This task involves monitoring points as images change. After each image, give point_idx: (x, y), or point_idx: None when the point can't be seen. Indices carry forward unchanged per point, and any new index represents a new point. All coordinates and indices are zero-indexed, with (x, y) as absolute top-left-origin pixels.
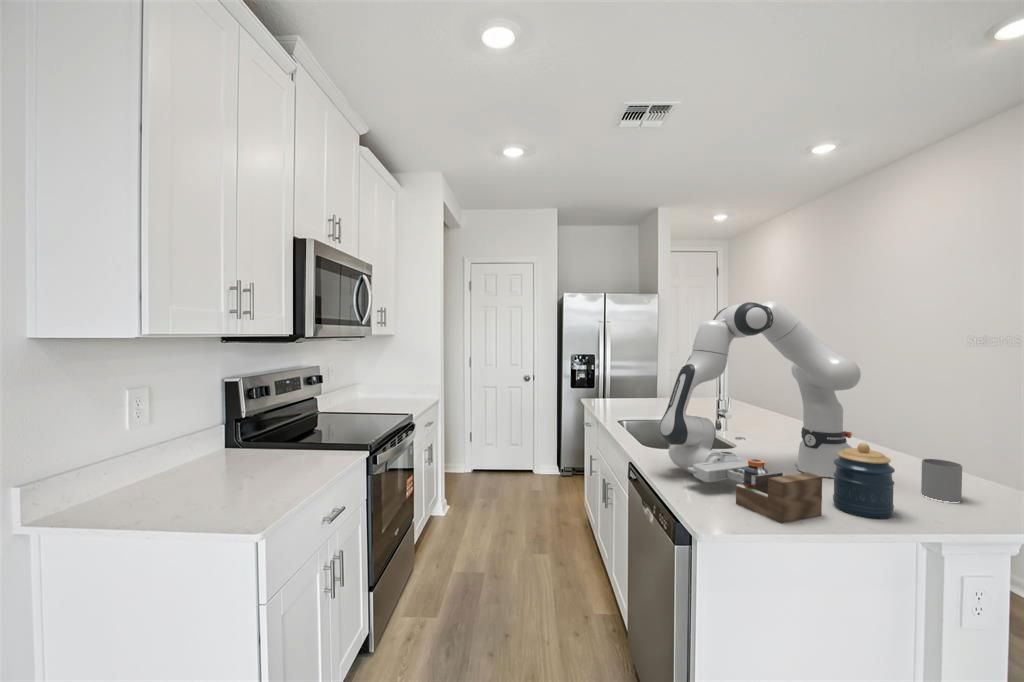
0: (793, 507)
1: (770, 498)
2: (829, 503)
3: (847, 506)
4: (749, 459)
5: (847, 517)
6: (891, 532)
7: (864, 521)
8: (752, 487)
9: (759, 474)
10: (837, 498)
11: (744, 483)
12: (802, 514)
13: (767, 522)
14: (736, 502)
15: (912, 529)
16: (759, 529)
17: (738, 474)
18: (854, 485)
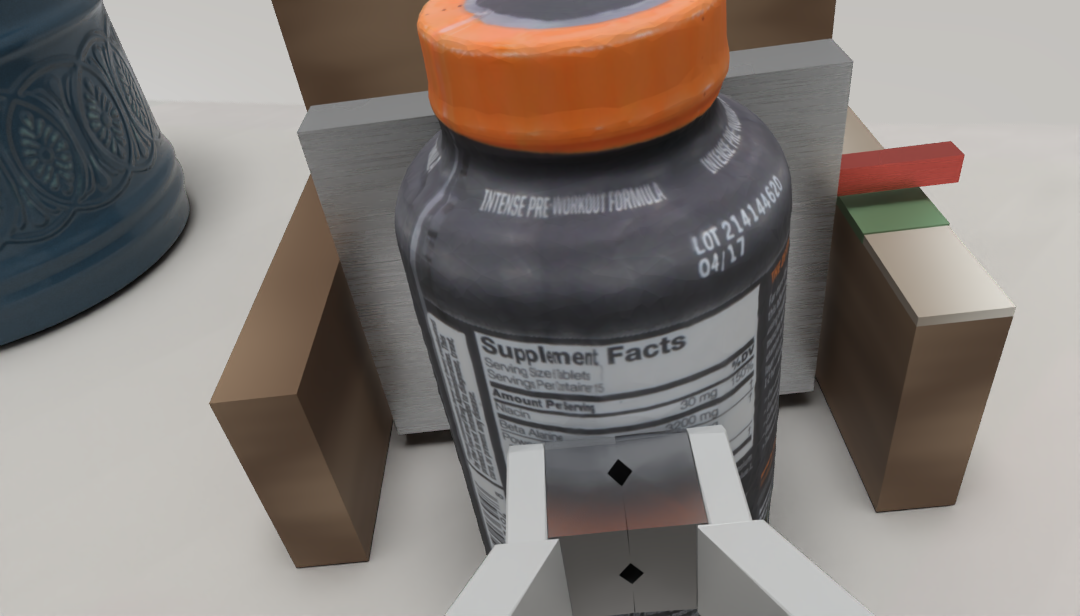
0: None
1: None
2: (39, 355)
3: (170, 190)
4: (645, 15)
5: (268, 202)
6: (304, 105)
7: (254, 168)
8: (827, 208)
9: None
10: (108, 211)
11: (774, 404)
12: None
13: None
14: (954, 484)
15: (181, 116)
16: (1000, 145)
17: (747, 527)
18: (105, 16)
